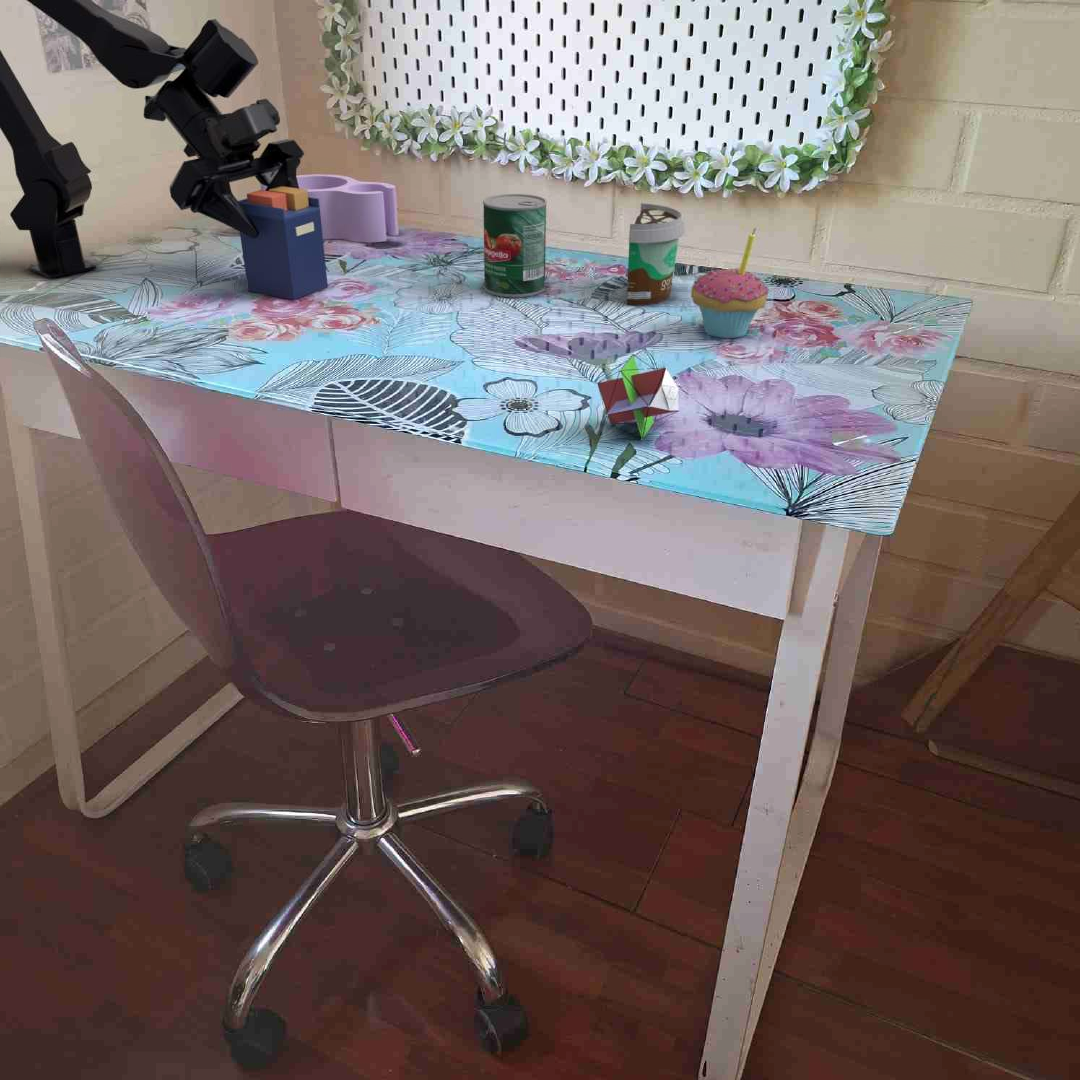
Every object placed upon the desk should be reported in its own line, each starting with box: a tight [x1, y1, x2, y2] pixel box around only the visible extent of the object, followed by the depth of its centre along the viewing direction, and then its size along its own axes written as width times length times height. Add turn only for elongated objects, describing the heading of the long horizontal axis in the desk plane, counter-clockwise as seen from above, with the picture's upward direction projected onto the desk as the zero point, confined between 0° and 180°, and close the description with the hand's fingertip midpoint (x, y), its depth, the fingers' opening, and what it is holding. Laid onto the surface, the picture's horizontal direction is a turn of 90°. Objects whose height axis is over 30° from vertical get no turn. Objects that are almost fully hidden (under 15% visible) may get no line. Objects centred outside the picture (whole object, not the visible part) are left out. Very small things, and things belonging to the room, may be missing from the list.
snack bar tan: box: [269, 186, 309, 210], centre depth 121 cm, size 4×2×2 cm, turn 61°
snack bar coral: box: [246, 189, 287, 211], centre depth 119 cm, size 4×2×2 cm, turn 61°
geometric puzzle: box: [596, 353, 680, 441], centre depth 89 cm, size 7×7×8 cm
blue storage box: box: [237, 197, 329, 301], centre depth 123 cm, size 8×7×11 cm
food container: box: [625, 202, 686, 306], centre depth 123 cm, size 12×6×10 cm, turn 168°
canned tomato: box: [482, 193, 548, 298], centre depth 124 cm, size 8×8×11 cm
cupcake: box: [690, 227, 770, 339], centre depth 111 cm, size 9×8×12 cm
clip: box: [259, 173, 399, 243], centre depth 150 cm, size 20×12×7 cm, turn 69°
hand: (282, 227), depth 122 cm, fingers open, 9 cm apart
